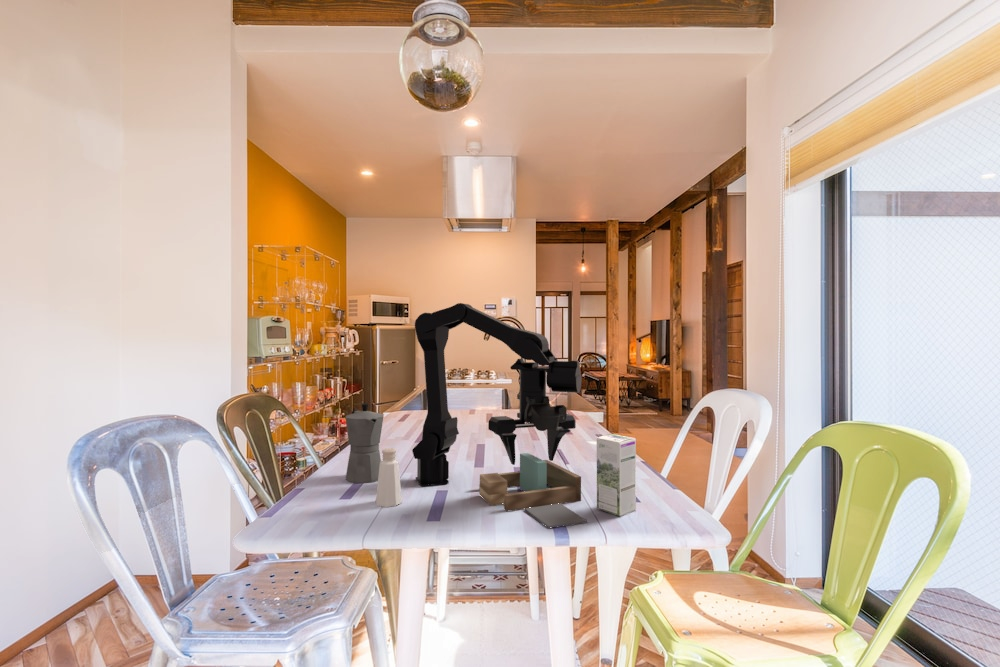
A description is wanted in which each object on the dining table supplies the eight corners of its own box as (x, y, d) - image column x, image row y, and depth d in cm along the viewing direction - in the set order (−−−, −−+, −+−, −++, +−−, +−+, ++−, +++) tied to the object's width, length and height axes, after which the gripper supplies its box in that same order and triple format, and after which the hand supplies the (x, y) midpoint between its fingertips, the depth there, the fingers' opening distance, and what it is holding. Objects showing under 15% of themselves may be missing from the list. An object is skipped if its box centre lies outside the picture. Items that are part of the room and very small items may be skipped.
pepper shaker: (393, 496, 106) (393, 445, 106) (407, 503, 102) (407, 449, 102) (370, 502, 102) (370, 449, 103) (384, 509, 99) (384, 453, 99)
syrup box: (637, 510, 99) (637, 437, 99) (619, 517, 95) (619, 441, 95) (613, 503, 103) (613, 432, 103) (595, 509, 99) (595, 436, 99)
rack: (506, 511, 98) (506, 485, 98) (479, 489, 112) (479, 466, 112) (581, 500, 104) (581, 476, 104) (546, 480, 118) (546, 459, 118)
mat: (548, 528, 89) (548, 526, 89) (524, 510, 98) (524, 508, 98) (587, 522, 92) (587, 520, 92) (560, 505, 101) (560, 503, 101)
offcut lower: (490, 507, 101) (490, 495, 101) (479, 497, 108) (479, 485, 108) (509, 505, 103) (509, 493, 103) (496, 495, 109) (496, 483, 109)
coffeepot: (393, 481, 118) (394, 405, 118) (354, 488, 112) (354, 408, 112) (370, 467, 130) (370, 398, 130) (334, 472, 125) (334, 400, 125)
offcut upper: (488, 495, 101) (488, 482, 101) (479, 486, 107) (479, 474, 107) (507, 493, 102) (507, 481, 102) (497, 484, 108) (497, 472, 108)
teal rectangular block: (538, 501, 104) (538, 463, 104) (519, 489, 112) (519, 453, 112) (546, 500, 105) (546, 462, 105) (527, 488, 113) (527, 452, 113)
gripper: (508, 396, 98) (507, 476, 98) (589, 393, 105) (589, 467, 105) (487, 390, 108) (487, 463, 108) (563, 387, 115) (562, 455, 115)
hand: (532, 462), depth 109 cm, fingers open, 9 cm apart
